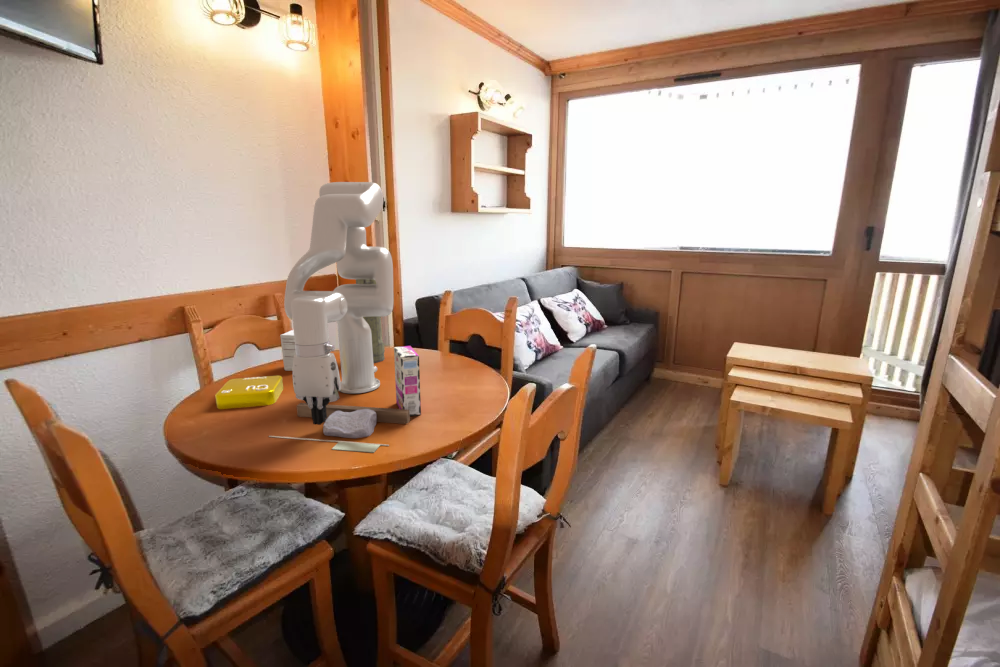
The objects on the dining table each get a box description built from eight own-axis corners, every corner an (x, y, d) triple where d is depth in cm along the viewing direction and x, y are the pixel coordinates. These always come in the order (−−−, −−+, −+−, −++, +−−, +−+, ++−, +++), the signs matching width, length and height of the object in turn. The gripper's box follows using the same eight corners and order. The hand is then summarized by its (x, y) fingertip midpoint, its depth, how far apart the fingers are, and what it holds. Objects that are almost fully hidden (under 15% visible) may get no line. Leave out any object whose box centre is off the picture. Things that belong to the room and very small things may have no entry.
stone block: (371, 445, 113) (379, 420, 122) (368, 428, 111) (376, 404, 120) (321, 448, 113) (332, 422, 122) (317, 431, 111) (329, 407, 120)
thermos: (381, 354, 182) (375, 261, 173) (387, 362, 171) (381, 264, 163) (357, 356, 178) (350, 262, 170) (362, 365, 168) (355, 265, 159)
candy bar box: (422, 415, 126) (419, 355, 122) (403, 417, 124) (400, 357, 120) (413, 400, 136) (410, 344, 132) (395, 402, 134) (392, 346, 130)
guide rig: (301, 413, 127) (300, 402, 126) (409, 420, 122) (409, 409, 121) (259, 443, 110) (257, 431, 109) (382, 453, 105) (381, 441, 104)
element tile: (284, 388, 147) (283, 373, 146) (274, 406, 133) (272, 389, 132) (231, 392, 144) (229, 377, 143) (215, 411, 130) (212, 394, 128)
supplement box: (295, 364, 170) (291, 329, 167) (315, 365, 169) (311, 330, 166) (283, 370, 162) (279, 334, 159) (303, 371, 161) (300, 335, 158)
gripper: (350, 346, 114) (355, 418, 118) (293, 344, 116) (300, 414, 120) (334, 355, 107) (340, 431, 111) (273, 352, 109) (282, 426, 113)
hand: (319, 422), depth 116 cm, fingers closed
